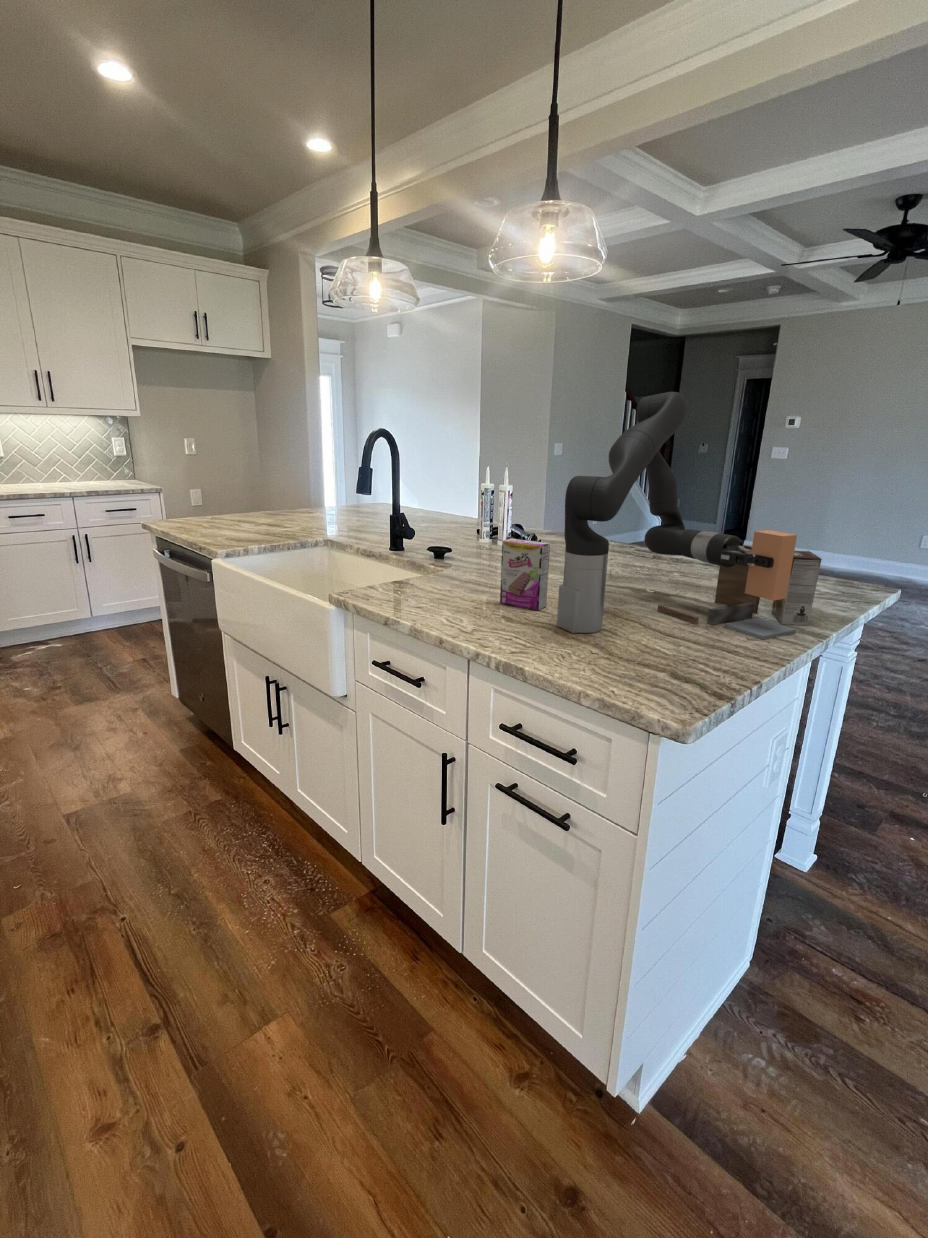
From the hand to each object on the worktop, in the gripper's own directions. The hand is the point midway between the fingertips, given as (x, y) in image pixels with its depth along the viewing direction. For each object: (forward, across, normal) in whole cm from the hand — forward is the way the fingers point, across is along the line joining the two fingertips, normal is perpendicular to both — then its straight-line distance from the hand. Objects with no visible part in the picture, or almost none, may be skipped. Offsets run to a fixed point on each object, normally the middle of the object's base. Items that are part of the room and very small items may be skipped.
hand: (780, 562), depth 131 cm
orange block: (-2, 0, +8) cm, 8 cm away
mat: (-2, 0, +16) cm, 16 cm away
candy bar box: (-42, -38, +16) cm, 59 cm away
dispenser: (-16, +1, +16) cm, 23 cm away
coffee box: (-4, +14, +16) cm, 22 cm away
